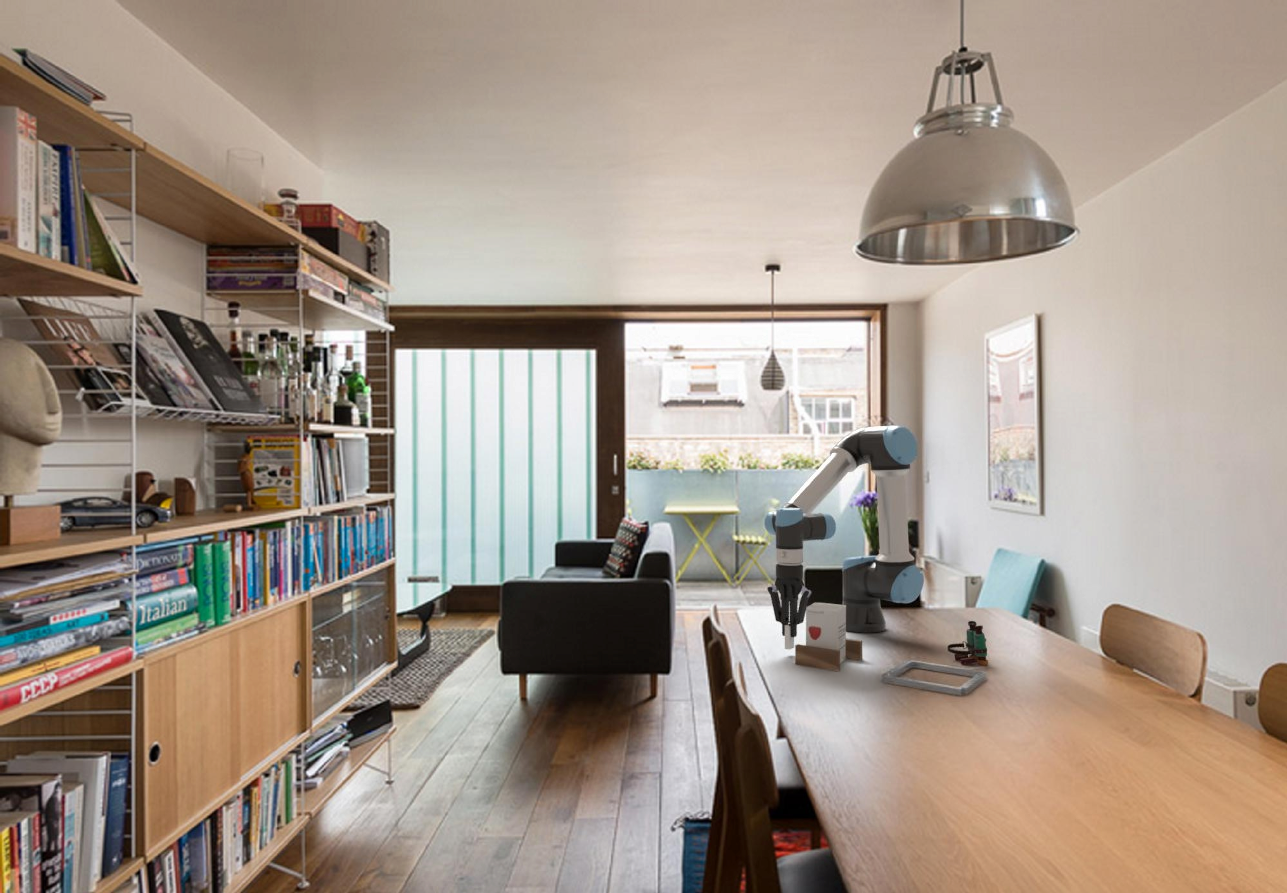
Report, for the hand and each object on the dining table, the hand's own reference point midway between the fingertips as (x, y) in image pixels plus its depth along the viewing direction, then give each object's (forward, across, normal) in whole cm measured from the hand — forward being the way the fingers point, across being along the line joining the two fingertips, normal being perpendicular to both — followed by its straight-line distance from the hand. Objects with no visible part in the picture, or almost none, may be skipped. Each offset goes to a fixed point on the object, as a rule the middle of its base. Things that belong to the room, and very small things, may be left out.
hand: (789, 648), depth 231 cm
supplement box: (+2, +11, 0) cm, 11 cm away
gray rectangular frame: (+2, +40, -1) cm, 40 cm away
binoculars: (+2, +42, +22) cm, 47 cm away
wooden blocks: (+2, +12, 0) cm, 12 cm away
